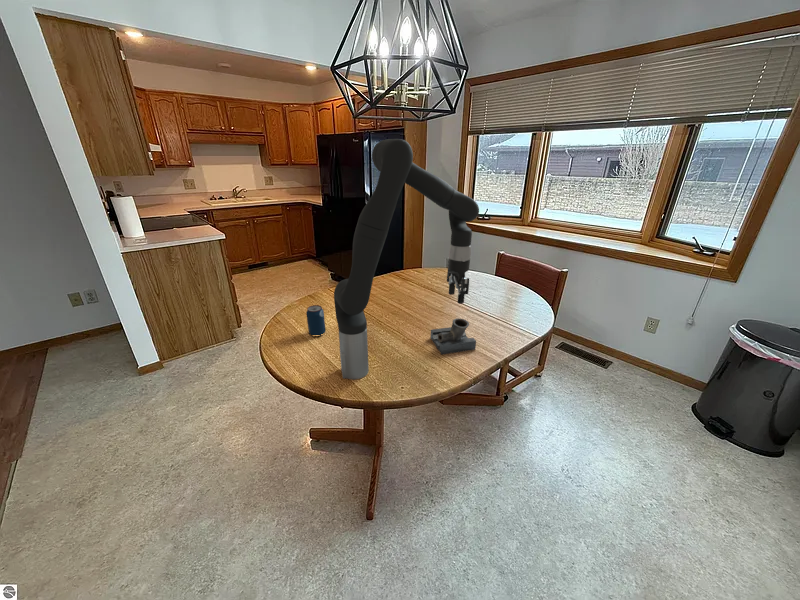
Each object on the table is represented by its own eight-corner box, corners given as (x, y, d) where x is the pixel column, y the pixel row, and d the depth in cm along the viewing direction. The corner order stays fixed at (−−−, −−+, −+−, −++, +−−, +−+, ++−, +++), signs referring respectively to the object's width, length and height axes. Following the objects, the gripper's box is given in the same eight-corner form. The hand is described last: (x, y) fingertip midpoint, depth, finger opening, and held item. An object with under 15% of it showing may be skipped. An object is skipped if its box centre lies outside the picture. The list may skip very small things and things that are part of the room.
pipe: (433, 338, 126) (438, 321, 123) (457, 333, 133) (462, 316, 130) (443, 348, 122) (449, 330, 118) (467, 341, 129) (473, 325, 126)
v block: (441, 354, 122) (442, 345, 121) (430, 338, 133) (430, 329, 132) (475, 349, 126) (476, 340, 124) (461, 334, 137) (462, 325, 135)
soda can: (329, 332, 137) (326, 306, 132) (317, 339, 132) (314, 313, 127) (317, 328, 141) (314, 303, 136) (305, 334, 135) (302, 309, 130)
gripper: (442, 252, 120) (439, 292, 127) (457, 263, 108) (454, 307, 114) (460, 251, 122) (457, 290, 129) (478, 262, 110) (473, 305, 116)
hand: (455, 298), depth 121 cm, fingers open, 8 cm apart
